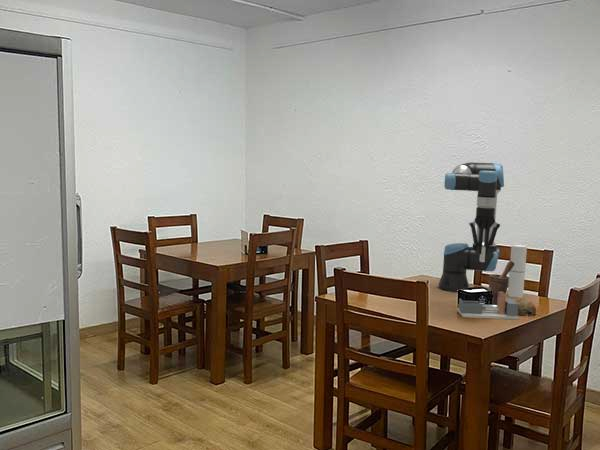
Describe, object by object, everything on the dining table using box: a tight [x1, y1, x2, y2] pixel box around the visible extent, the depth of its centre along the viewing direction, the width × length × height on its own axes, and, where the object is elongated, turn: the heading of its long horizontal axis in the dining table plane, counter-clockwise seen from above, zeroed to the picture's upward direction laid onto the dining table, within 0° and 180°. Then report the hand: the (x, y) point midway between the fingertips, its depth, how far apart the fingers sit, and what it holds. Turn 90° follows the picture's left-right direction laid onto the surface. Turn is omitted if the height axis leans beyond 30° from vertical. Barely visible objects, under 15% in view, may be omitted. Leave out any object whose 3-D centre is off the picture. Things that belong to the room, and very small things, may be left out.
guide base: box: [456, 297, 519, 320], centre depth 264 cm, size 12×23×6 cm, turn 88°
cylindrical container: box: [507, 244, 528, 299], centre depth 301 cm, size 7×7×25 cm
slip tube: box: [481, 291, 507, 314], centre depth 264 cm, size 4×14×9 cm, turn 88°
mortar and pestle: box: [488, 260, 514, 305], centre depth 285 cm, size 12×9×20 cm
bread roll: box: [515, 298, 537, 317], centre depth 269 cm, size 10×10×8 cm
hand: (481, 261), depth 264 cm, fingers closed
